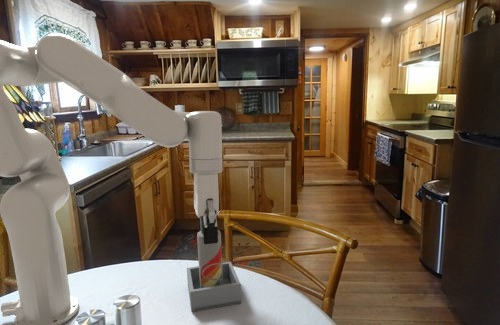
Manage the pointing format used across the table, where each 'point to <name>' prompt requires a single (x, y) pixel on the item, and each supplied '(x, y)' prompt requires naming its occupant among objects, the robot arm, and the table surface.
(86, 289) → the table surface
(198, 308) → the box
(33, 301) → the robot arm
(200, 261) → the lotion bottle
